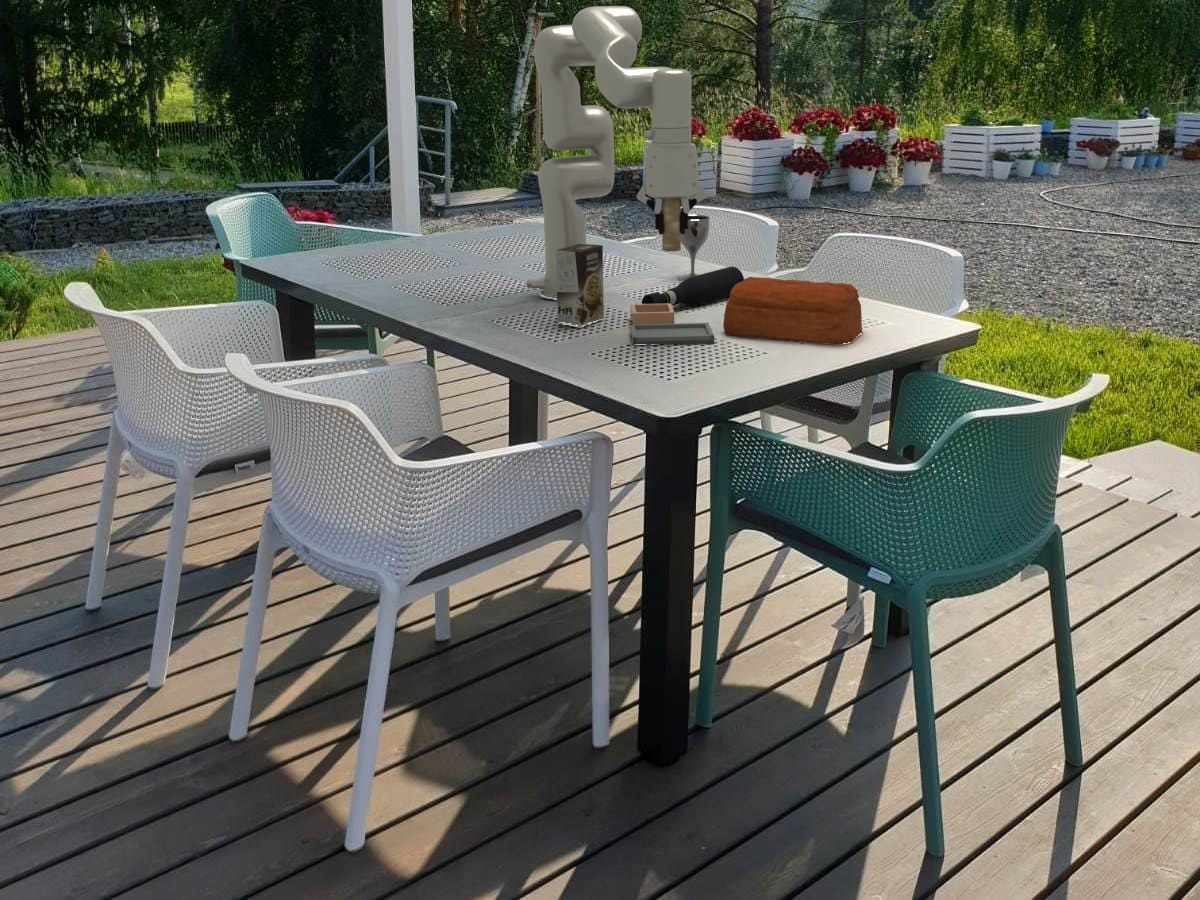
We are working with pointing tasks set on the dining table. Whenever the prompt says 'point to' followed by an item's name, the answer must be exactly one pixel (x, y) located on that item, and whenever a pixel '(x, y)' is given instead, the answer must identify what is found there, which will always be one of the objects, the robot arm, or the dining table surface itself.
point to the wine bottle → (699, 288)
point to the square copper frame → (652, 314)
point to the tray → (672, 333)
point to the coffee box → (580, 284)
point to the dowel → (671, 224)
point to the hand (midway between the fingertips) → (671, 232)
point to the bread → (794, 310)
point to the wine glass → (694, 238)
